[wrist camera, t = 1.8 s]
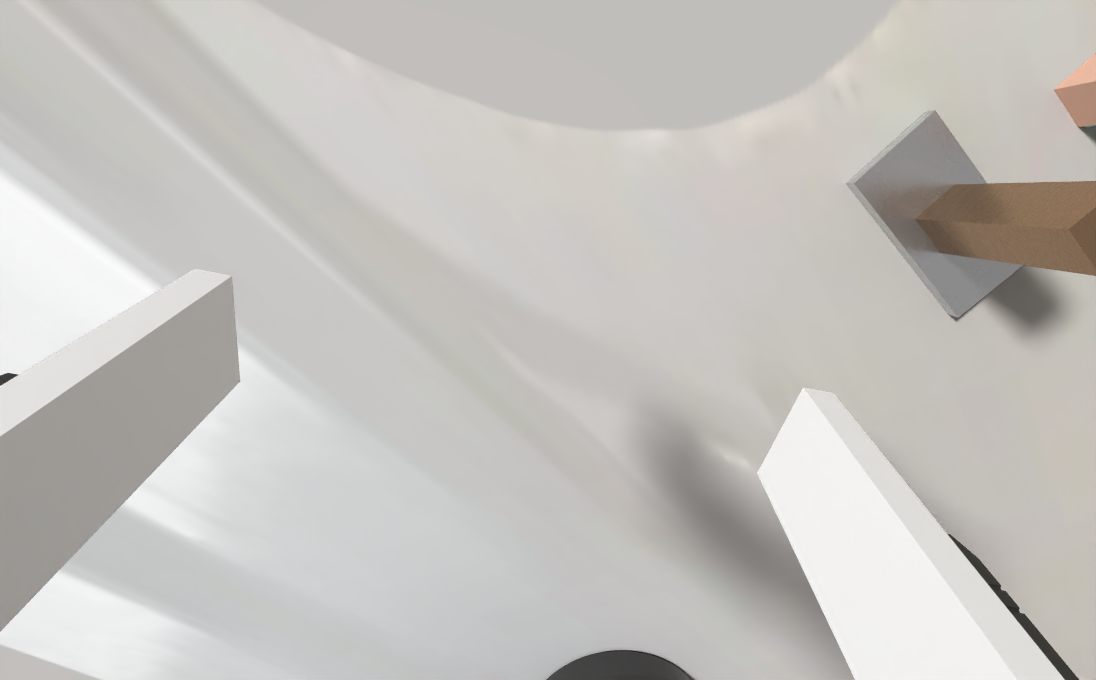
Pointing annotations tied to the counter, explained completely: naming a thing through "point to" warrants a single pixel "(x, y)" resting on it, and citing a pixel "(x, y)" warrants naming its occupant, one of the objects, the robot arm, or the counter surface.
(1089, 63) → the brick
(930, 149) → the trowel
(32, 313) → the counter surface
